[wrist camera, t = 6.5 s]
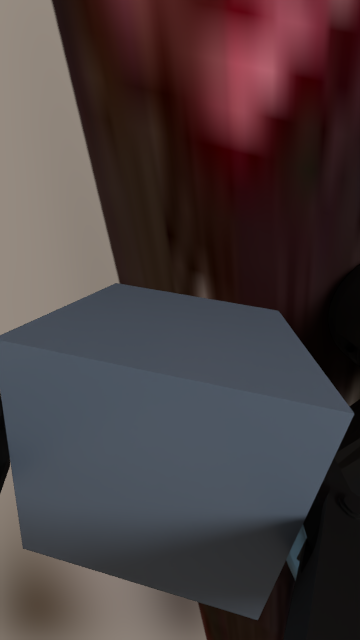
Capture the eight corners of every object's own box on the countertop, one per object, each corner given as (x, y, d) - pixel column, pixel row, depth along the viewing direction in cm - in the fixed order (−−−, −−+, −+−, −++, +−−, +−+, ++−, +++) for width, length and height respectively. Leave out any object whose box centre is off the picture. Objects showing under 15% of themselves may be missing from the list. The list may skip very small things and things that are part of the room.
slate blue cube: (278, 310, 13) (354, 413, 5) (241, 441, 16) (257, 620, 9) (116, 283, 14) (-7, 338, 6) (110, 410, 17) (22, 548, 10)
